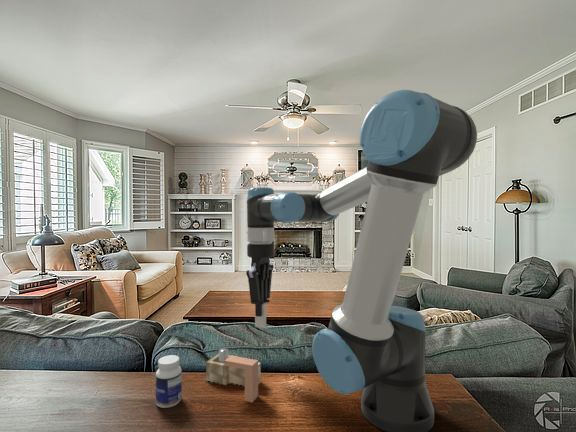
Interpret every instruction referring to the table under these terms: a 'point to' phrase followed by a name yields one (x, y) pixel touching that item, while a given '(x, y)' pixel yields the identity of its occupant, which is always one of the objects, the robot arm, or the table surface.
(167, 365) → the pill bottle
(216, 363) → the link
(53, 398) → the table surface
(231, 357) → the keeper
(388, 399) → the robot arm
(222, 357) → the cylinder
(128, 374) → the table surface
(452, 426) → the table surface
